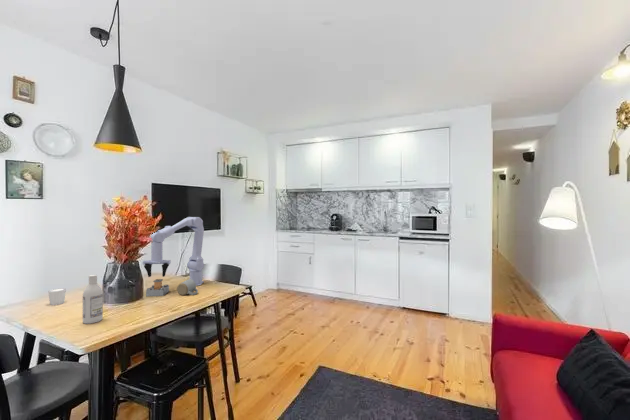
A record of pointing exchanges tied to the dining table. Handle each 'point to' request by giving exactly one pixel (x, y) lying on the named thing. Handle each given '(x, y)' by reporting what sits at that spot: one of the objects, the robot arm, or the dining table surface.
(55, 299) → the white ribbed cup
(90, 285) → the bath foam
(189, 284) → the ceramic mug
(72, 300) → the dining table surface
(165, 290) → the rosette block
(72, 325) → the dining table surface
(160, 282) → the wedge pin
